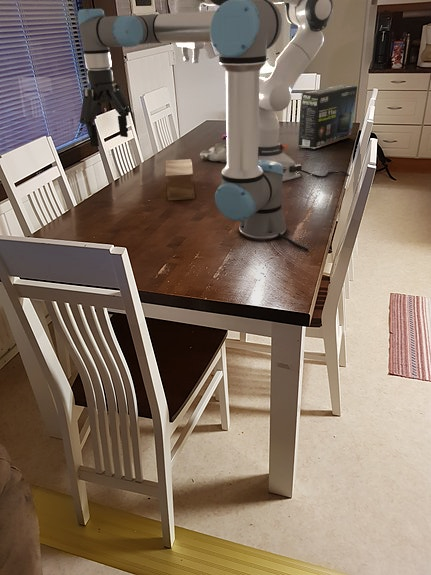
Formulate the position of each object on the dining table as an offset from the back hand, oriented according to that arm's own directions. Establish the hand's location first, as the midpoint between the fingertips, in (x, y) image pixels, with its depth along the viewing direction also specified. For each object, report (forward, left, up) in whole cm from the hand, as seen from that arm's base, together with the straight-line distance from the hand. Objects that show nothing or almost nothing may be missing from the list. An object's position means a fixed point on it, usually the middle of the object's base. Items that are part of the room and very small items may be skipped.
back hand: (190, 62), depth 166 cm
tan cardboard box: (+8, 0, -47) cm, 48 cm away
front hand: (+36, +21, -19) cm, 46 cm away
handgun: (-44, -67, -47) cm, 93 cm away
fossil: (-23, -37, -47) cm, 64 cm away
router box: (-85, -37, -47) cm, 104 cm away
